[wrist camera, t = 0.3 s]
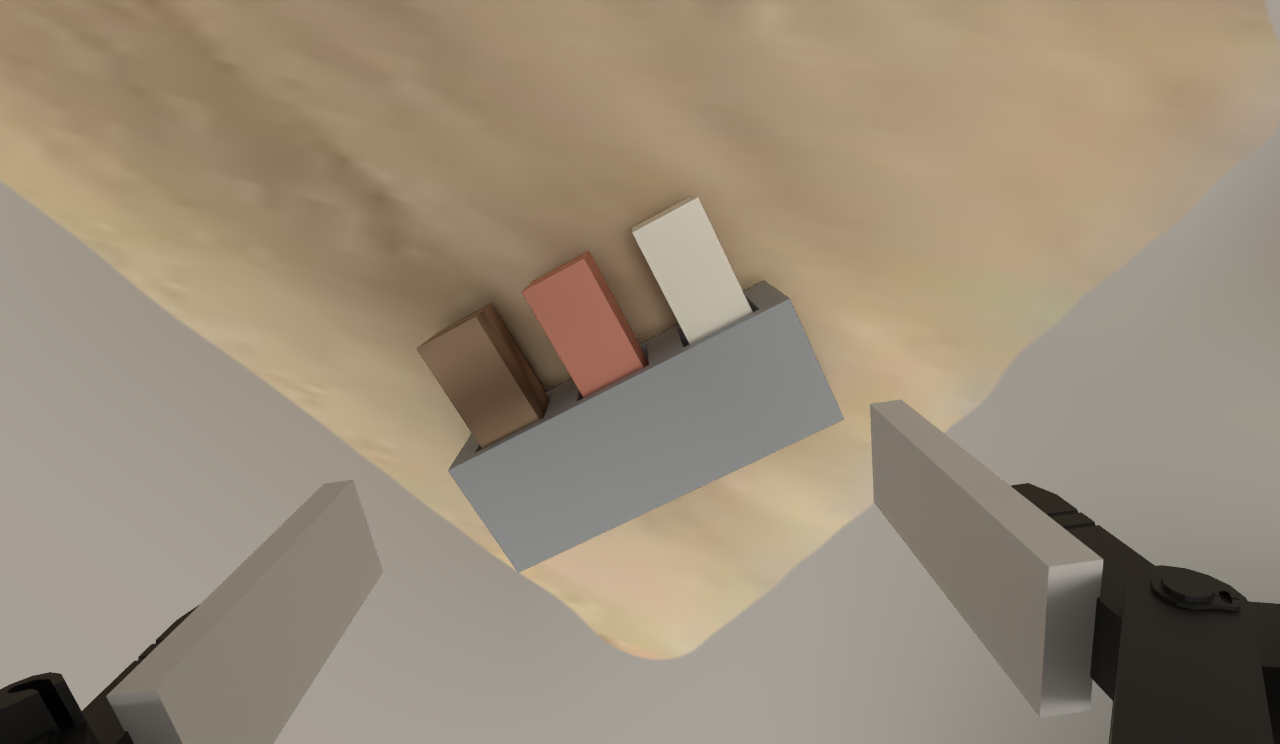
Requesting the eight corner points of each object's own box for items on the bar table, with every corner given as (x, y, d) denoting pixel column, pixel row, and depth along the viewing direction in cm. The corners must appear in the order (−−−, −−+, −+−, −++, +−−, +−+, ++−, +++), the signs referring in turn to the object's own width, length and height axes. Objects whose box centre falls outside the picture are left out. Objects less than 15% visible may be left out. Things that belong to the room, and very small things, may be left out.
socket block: (475, 428, 42) (448, 470, 35) (764, 280, 39) (789, 298, 33) (534, 517, 44) (517, 572, 38) (811, 383, 41) (844, 419, 35)
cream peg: (631, 227, 37) (632, 232, 33) (690, 195, 36) (698, 197, 32) (696, 353, 39) (704, 372, 35) (752, 325, 38) (766, 341, 35)
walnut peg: (437, 332, 38) (416, 348, 34) (491, 303, 38) (475, 316, 34) (511, 446, 41) (499, 473, 37) (562, 421, 40) (555, 445, 36)
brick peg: (532, 281, 37) (521, 292, 34) (588, 251, 37) (584, 258, 33) (602, 401, 40) (598, 424, 36) (655, 374, 39) (658, 394, 36)
